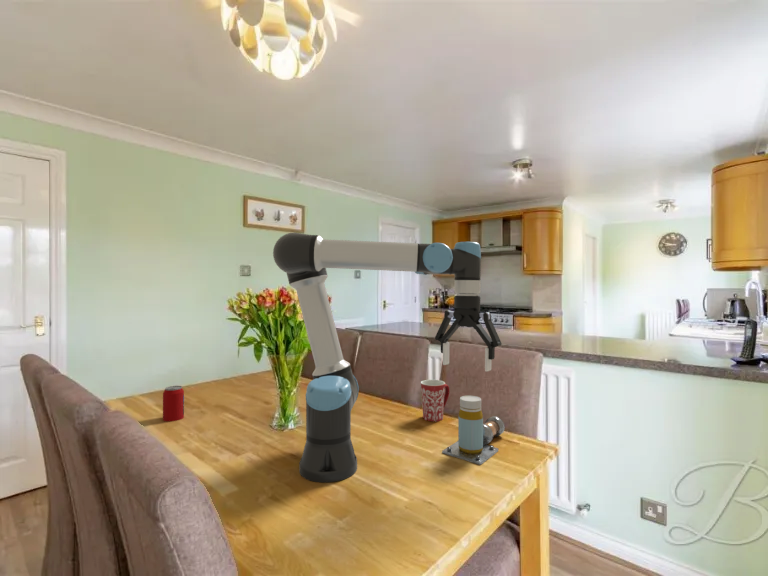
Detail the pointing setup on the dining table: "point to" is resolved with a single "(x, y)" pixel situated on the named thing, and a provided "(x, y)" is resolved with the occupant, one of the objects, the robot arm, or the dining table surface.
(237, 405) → the dining table surface
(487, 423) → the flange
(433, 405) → the mug
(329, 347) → the robot arm
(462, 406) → the bottle
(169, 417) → the beverage can
